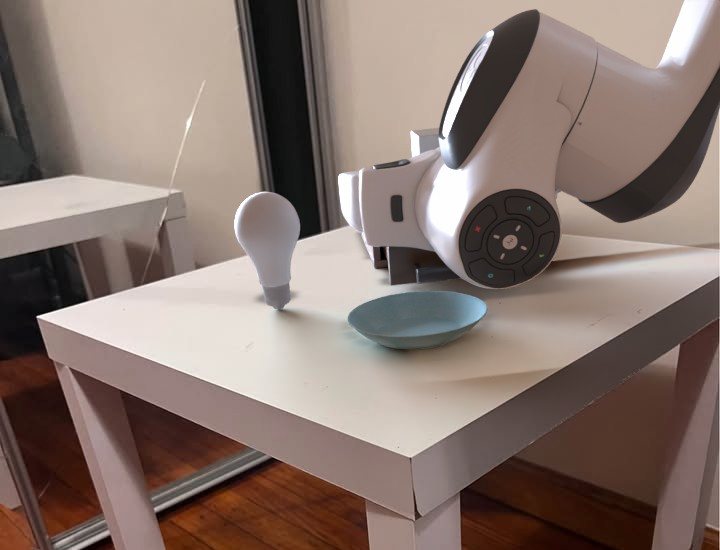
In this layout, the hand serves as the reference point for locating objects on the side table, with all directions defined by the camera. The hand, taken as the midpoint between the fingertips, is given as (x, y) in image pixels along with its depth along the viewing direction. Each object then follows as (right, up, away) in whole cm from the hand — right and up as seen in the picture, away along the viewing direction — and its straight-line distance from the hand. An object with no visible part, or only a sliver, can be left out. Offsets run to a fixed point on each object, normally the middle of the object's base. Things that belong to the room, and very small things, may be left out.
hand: (434, 172), depth 78 cm
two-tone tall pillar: (+1, -6, +3) cm, 7 cm away
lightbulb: (-16, -14, -2) cm, 21 cm away
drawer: (+1, -9, +3) cm, 9 cm away
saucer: (-3, -19, -12) cm, 22 cm away
